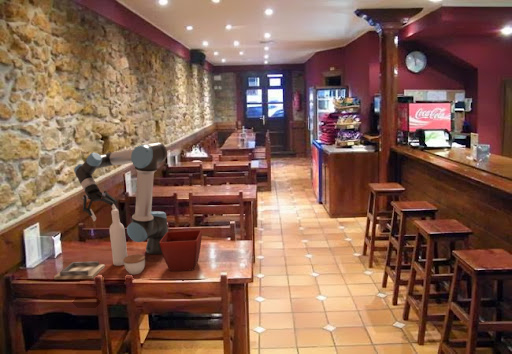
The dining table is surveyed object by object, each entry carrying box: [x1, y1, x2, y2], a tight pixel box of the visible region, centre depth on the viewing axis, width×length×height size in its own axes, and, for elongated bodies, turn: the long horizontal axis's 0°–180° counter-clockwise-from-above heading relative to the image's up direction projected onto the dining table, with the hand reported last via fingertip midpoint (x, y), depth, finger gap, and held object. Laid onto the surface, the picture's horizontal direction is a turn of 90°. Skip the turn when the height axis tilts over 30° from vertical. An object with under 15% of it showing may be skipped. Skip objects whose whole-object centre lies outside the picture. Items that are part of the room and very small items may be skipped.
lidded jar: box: [123, 254, 146, 275], centre depth 246 cm, size 11×11×9 cm
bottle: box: [108, 208, 128, 267], centre depth 259 cm, size 8×8×30 cm
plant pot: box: [159, 229, 203, 272], centre depth 249 cm, size 19×19×17 cm
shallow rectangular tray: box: [53, 261, 106, 280], centre depth 250 cm, size 20×16×4 cm
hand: (106, 217), depth 264 cm, fingers open, 13 cm apart
